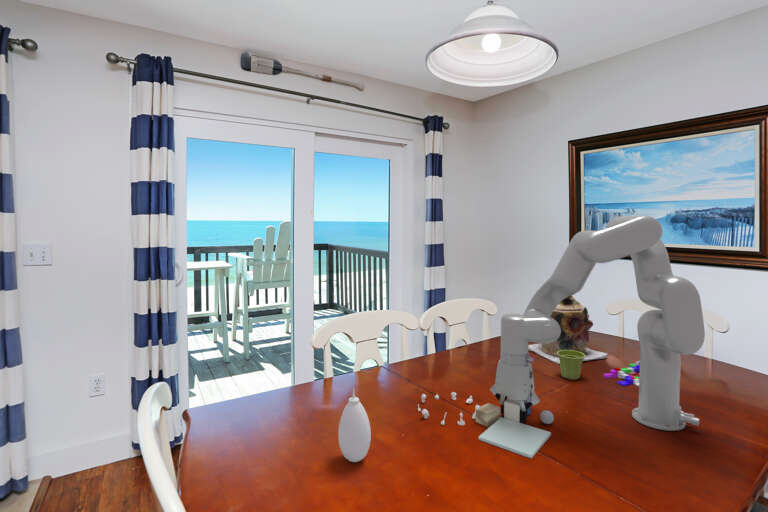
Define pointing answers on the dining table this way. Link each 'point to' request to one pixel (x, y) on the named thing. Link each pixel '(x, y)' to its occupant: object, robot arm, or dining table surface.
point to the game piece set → (446, 412)
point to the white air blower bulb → (354, 431)
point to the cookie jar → (569, 332)
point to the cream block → (512, 409)
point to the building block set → (626, 374)
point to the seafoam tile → (515, 437)
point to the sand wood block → (487, 414)
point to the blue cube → (529, 408)
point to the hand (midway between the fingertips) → (513, 418)
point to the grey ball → (546, 417)
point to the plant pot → (570, 363)
